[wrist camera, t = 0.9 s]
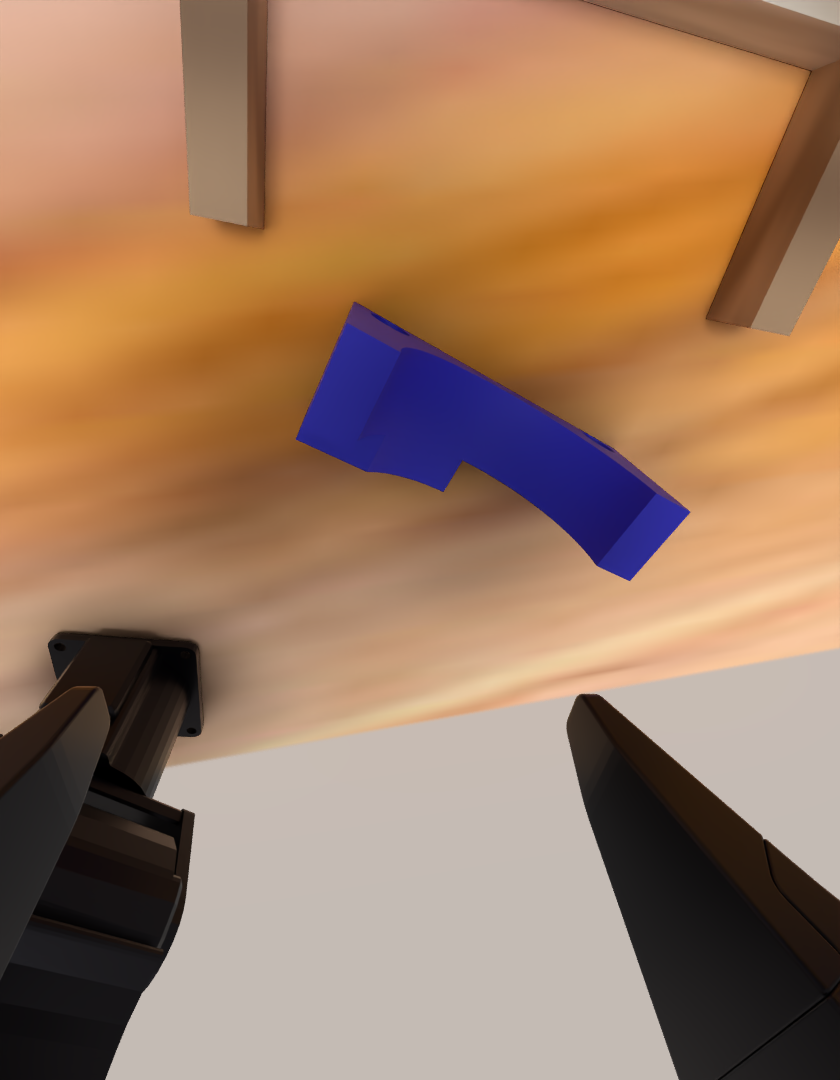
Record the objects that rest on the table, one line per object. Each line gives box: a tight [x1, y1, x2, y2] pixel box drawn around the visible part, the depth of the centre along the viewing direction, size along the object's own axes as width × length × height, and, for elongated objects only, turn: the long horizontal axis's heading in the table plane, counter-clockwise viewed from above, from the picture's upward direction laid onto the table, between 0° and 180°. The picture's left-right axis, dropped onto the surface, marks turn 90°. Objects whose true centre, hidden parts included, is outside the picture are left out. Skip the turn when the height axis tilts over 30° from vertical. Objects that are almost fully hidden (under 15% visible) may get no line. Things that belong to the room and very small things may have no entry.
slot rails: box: [180, 0, 840, 336], centre depth 14 cm, size 8×19×2 cm, turn 80°
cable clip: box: [296, 302, 690, 581], centre depth 17 cm, size 12×4×6 cm, turn 62°
